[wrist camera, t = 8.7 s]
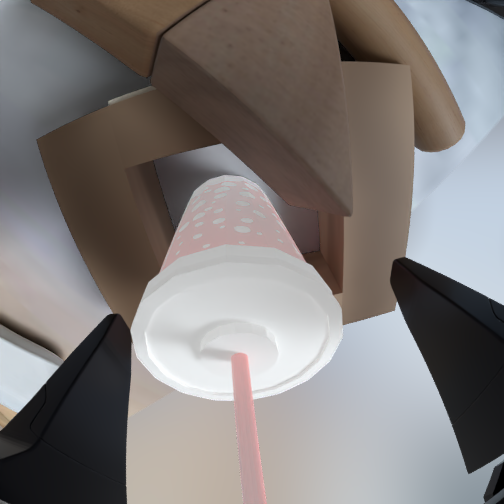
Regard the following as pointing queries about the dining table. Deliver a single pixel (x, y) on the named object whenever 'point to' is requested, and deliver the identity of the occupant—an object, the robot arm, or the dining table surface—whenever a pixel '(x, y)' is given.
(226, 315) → the beverage cup
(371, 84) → the holder block
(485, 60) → the dining table surface
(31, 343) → the salad plate
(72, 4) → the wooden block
